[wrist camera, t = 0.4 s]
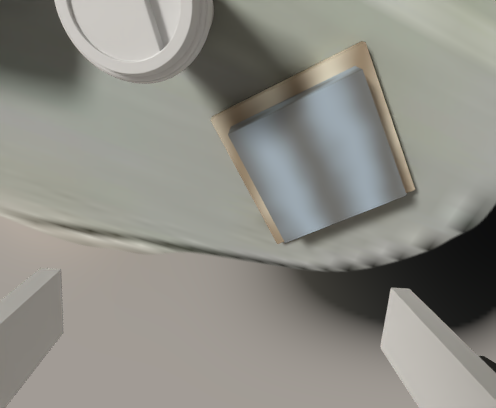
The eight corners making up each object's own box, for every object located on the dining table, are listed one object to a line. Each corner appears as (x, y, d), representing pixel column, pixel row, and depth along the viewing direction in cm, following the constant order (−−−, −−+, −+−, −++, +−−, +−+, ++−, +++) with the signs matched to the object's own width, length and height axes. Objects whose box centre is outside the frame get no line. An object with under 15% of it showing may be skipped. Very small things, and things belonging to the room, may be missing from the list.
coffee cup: (224, 71, 37) (199, 99, 23) (127, 55, 36) (44, 74, 23) (237, -43, 32) (216, -90, 19) (127, -62, 32) (28, -123, 19)
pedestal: (361, 41, 35) (374, 43, 31) (410, 184, 41) (426, 201, 37) (212, 116, 39) (206, 127, 35) (277, 237, 45) (278, 258, 41)
